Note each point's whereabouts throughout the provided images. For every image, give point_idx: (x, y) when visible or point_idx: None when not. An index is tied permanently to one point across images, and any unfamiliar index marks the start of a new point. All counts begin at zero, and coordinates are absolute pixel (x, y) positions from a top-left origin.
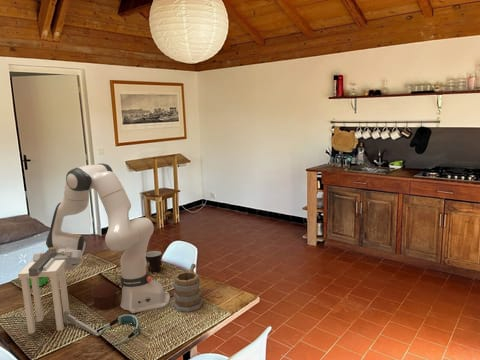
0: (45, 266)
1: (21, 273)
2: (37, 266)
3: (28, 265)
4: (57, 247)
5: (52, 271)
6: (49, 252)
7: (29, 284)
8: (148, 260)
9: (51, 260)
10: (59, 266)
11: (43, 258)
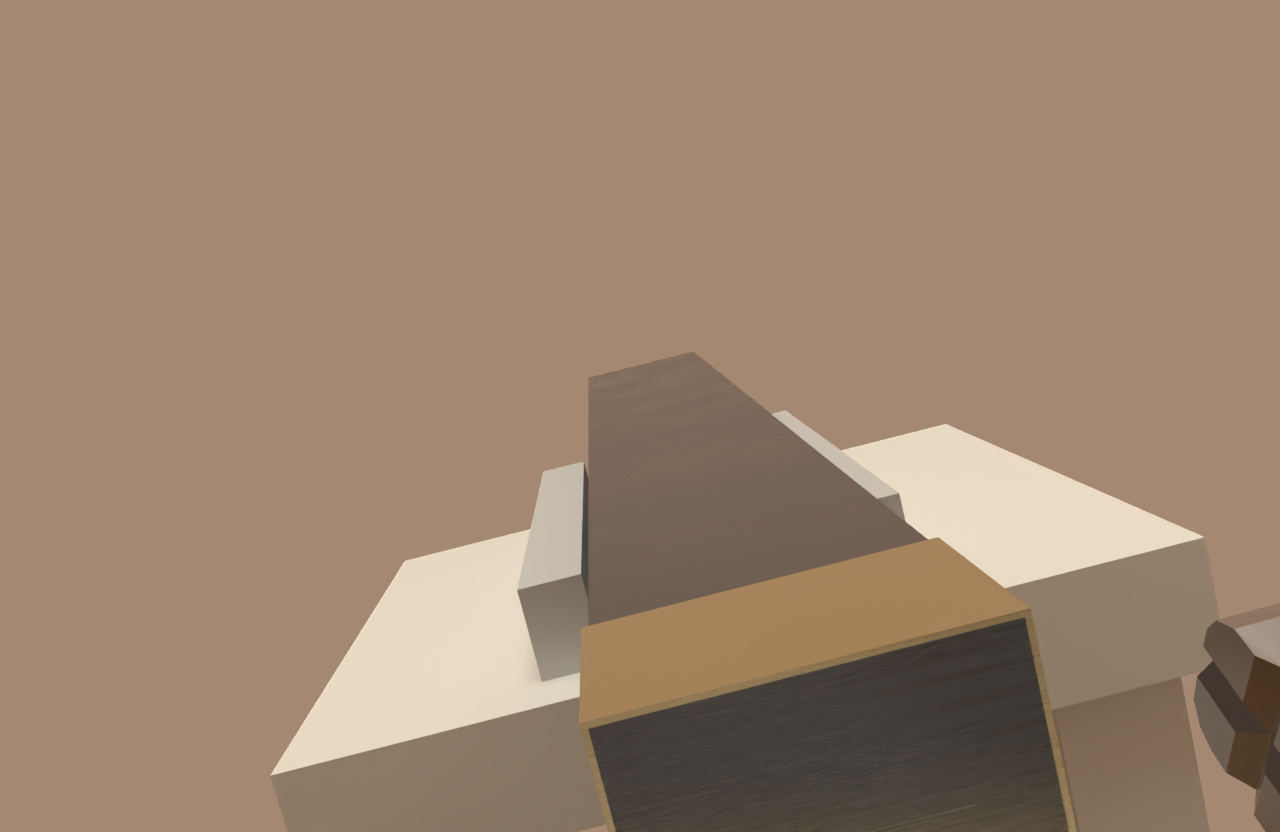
0: (556, 475)
1: (907, 437)
2: (609, 381)
3: (1061, 498)
4: (589, 759)
5: (454, 550)
6: (680, 493)
7: None
8: None
9: (533, 542)
10: (370, 616)
11: (653, 417)
